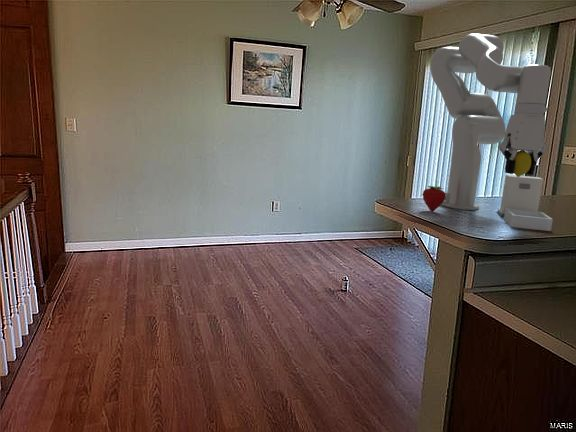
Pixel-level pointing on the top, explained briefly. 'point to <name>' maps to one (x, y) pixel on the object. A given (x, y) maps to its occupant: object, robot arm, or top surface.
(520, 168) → the lemon
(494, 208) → the top surface
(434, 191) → the strawberry
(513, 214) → the tray
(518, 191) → the block
